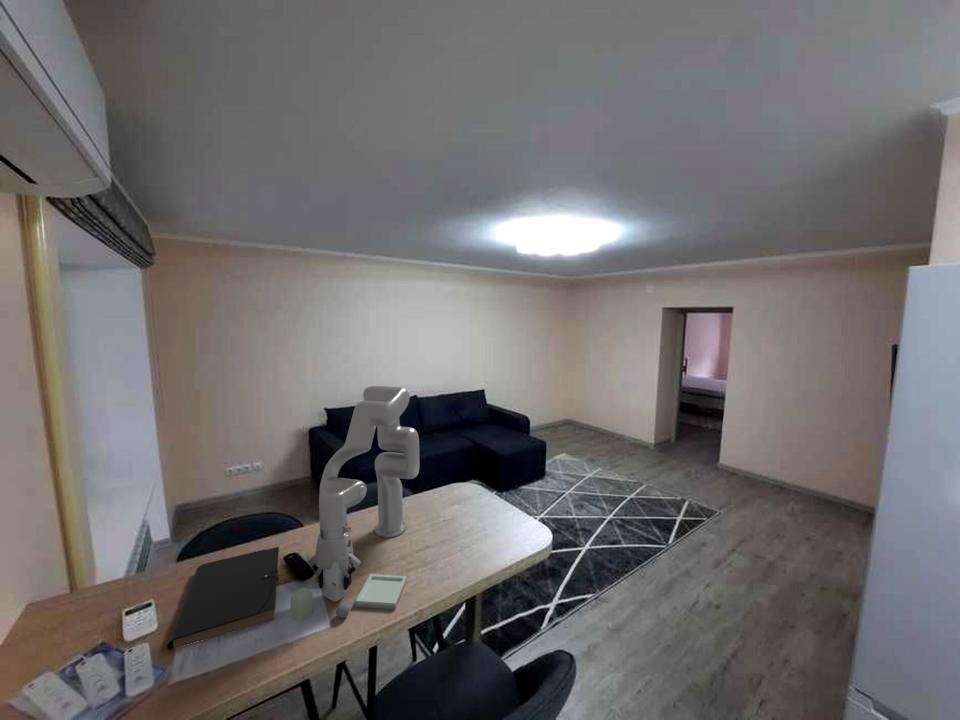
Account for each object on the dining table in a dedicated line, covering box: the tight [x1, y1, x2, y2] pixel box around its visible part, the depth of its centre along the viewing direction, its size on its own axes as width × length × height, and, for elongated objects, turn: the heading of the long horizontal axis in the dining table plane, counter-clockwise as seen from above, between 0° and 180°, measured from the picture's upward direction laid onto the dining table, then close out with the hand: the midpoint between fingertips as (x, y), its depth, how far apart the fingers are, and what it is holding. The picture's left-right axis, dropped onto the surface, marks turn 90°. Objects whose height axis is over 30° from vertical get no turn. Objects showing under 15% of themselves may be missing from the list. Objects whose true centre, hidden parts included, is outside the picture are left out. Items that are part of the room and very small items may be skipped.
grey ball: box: [335, 602, 350, 619], centre depth 107 cm, size 4×4×4 cm
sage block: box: [289, 587, 314, 622], centre depth 107 cm, size 4×4×6 cm
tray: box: [354, 573, 408, 610], centre depth 116 cm, size 12×12×2 cm
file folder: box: [166, 546, 280, 651], centre depth 115 cm, size 33×4×24 cm
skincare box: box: [322, 563, 348, 603], centre depth 115 cm, size 6×4×12 cm
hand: (335, 585), depth 115 cm, fingers closed on skincare box, 7 cm apart
